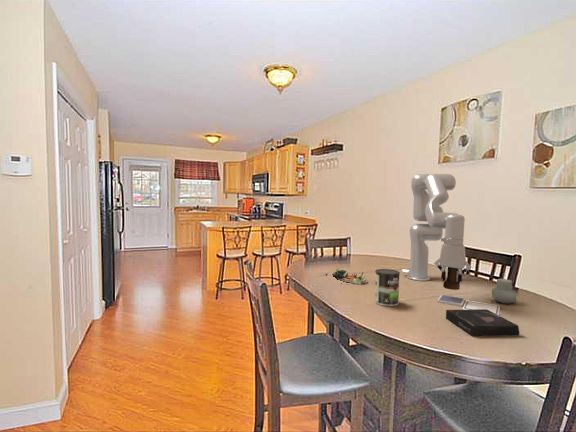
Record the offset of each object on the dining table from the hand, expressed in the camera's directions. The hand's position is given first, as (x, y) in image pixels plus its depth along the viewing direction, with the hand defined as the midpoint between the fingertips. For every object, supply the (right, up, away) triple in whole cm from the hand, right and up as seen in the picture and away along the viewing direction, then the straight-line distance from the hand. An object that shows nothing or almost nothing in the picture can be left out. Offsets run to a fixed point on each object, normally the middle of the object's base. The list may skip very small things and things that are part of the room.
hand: (451, 281), depth 153 cm
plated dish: (-39, -7, +38) cm, 55 cm away
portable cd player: (-4, -12, -29) cm, 32 cm away
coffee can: (-30, -9, -3) cm, 32 cm away
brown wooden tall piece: (0, -3, 0) cm, 3 cm away
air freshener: (+24, -10, 0) cm, 26 cm away
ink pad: (0, -9, 0) cm, 9 cm away
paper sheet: (+9, -10, -9) cm, 16 cm away
